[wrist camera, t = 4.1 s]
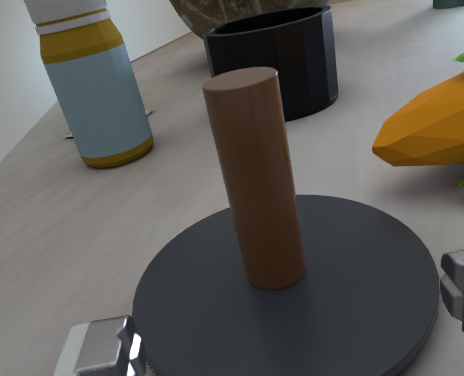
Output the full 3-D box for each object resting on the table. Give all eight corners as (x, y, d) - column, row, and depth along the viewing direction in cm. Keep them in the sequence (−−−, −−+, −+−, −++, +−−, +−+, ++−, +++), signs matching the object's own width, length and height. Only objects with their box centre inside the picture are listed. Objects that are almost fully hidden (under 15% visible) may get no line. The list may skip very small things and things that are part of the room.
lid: (256, 527, 12) (154, 228, 7) (99, 295, 22) (16, 113, 18) (506, 280, 18) (540, 29, 13) (289, 189, 28) (264, 32, 24)
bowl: (160, 87, 63) (129, -22, 56) (202, 49, 86) (184, -32, 79) (350, 56, 56) (341, -72, 50) (341, 24, 79) (334, -67, 72)
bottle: (91, 178, 37) (17, -6, 30) (79, 156, 43) (15, -2, 36) (164, 151, 39) (111, -26, 32) (144, 133, 45) (95, -20, 38)
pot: (271, 133, 38) (254, 36, 34) (199, 113, 47) (180, 35, 44) (364, 90, 43) (359, 1, 39) (283, 80, 53) (272, 8, 49)
